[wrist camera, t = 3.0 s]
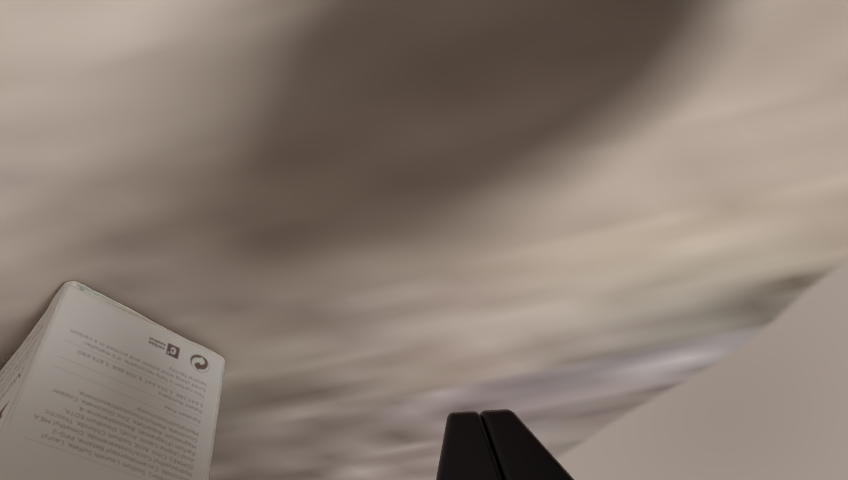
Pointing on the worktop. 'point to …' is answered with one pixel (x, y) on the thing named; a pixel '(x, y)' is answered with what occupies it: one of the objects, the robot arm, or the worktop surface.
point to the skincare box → (107, 397)
